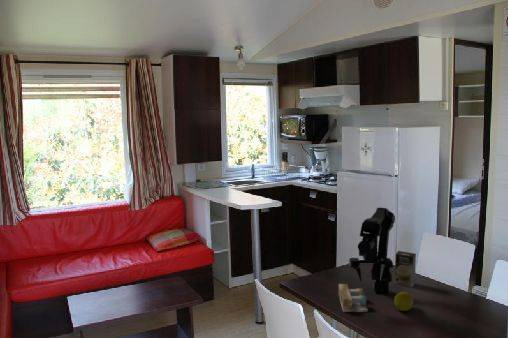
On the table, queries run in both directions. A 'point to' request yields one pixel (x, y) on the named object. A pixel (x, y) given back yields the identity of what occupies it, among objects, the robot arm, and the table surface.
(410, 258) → the coffee box
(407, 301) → the lemon
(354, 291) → the terracotta knob
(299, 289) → the table surface
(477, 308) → the table surface
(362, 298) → the teal knob
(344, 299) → the mount
